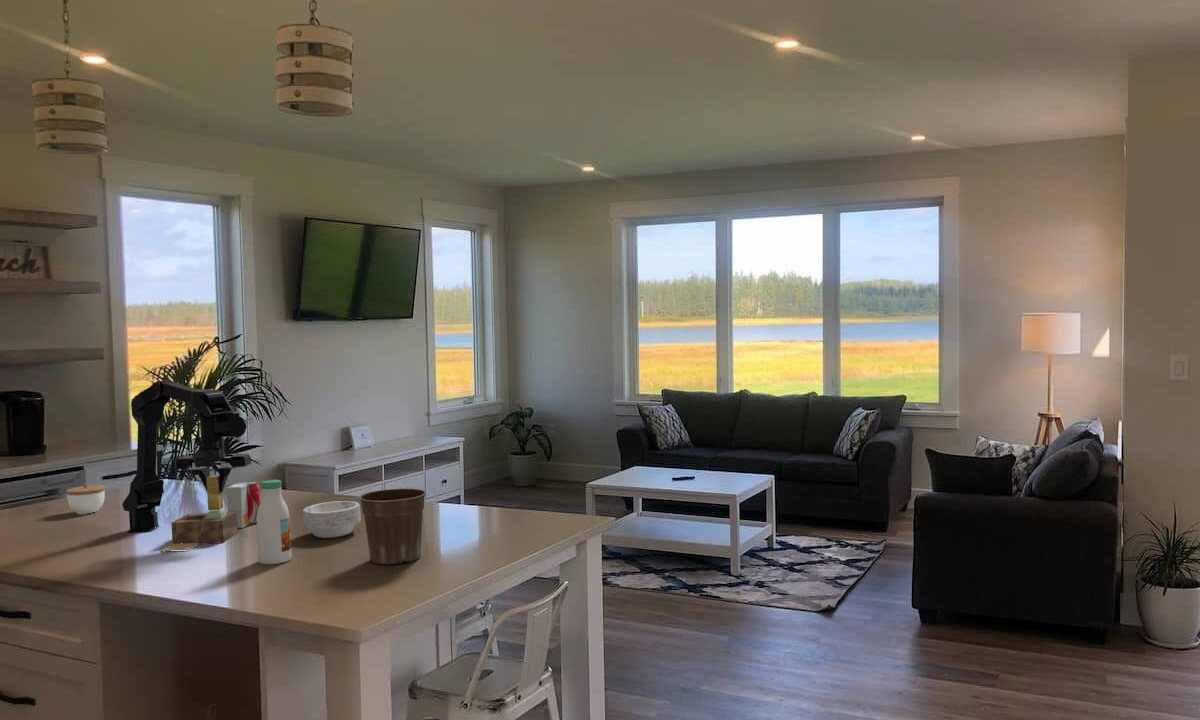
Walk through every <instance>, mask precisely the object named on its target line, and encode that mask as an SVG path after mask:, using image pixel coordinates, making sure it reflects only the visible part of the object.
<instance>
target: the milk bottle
mask: <svg viewBox="0 0 1200 720" xmlns="http://www.w3.org/2000/svg"><path fill="white" fill-rule="evenodd" d="M261 491H262V497H261V503H260V506H259V508H258V512H257V523H256V532H257V533H256V534H257V553H258V562H259V563H260V564H261V565H278V564H282V563H283V564H284V563H287V562H289V561H291V559H292V555H293V554H292V540H291V539H292V538H291V520H290V512H289V508H288V505H287V504H286V501H285V500H284V498H283V496H282V492H281V491H282V480H280V479H268V480H264V481H262V482H261Z"/></svg>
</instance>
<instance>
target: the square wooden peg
mask: <svg viewBox="0 0 1200 720" xmlns="http://www.w3.org/2000/svg"><path fill="white" fill-rule="evenodd" d="M206 479H207V491H206V495H207V497H206V498H207V511H211V510H223V508H224V499H223V498H224V496H223V494H224V493H223V492H222V493H220V490H219V475H210V476H209V477H207V478H206Z"/></svg>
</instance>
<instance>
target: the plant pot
mask: <svg viewBox="0 0 1200 720" xmlns="http://www.w3.org/2000/svg"><path fill="white" fill-rule="evenodd" d="M426 495H427V491H426V490H424V489H421V488H420V489H419V488H392V489H391V488H389V489H381V490H373V491H370V492H366V493H363V494H360V495H359V496H358V500H359V501H360V503H361V504H360V506H361V511H362V514H363V515H364V516H363V517H364V522H365V524H364V525H365V530H366V537H367V544H368V545H367V547H368V554H369V560H370V562H372V563H373V564H376V565H382V566H385V565H386V566H390V565H391V566H392V565H400V564H402V563H403V562H407V563H411V562H414V561H416V560H418V559H419V558H421V555H422V553H421V552H422V549H421V548H422V528H423V510H424V509H425V496H426Z"/></svg>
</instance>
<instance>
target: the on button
mask: <svg viewBox="0 0 1200 720" xmlns="http://www.w3.org/2000/svg"><path fill="white" fill-rule="evenodd" d="M227 512H228V511H227V509H220V510H208V512H205V513H206V517H207V519H217V518H224V517H225V516H227Z"/></svg>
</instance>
